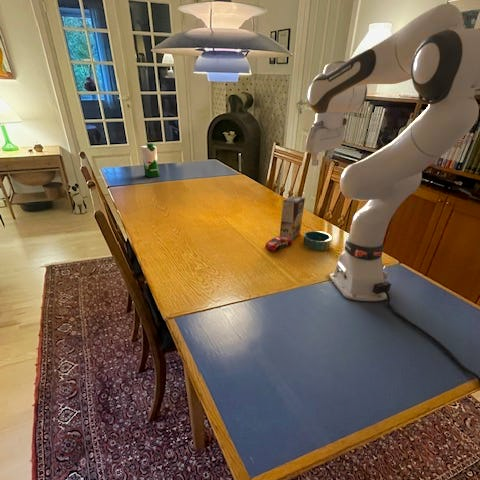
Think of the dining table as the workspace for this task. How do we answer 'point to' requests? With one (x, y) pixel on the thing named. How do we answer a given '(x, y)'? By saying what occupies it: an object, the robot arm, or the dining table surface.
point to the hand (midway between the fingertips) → (321, 163)
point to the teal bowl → (317, 240)
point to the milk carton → (150, 160)
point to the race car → (277, 243)
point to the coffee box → (291, 217)
